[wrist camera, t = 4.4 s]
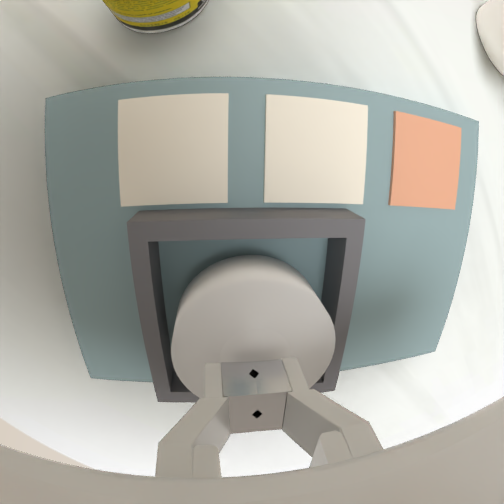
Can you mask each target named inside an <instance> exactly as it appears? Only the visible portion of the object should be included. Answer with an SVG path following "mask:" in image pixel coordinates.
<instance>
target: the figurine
mask: <svg viewBox="0 0 504 504" xmlns="http://www.w3.org/2000/svg"><path fill="white" fill-rule="evenodd" d="M476 24H477V29H478V33H479V37H480V39H481V42H482V45H483V47H484V49H485V51H486V53H487V55H488V57H489V58H490V60H491V62H492V63H493V65H494V66H495V67H496V69H497V70H498V71H499V72H500V73H501V74H502V75H503V76H504V0H489V1H488V2H486V3H485V4H483V5H482V6H481V7H480V8H479V9H478V11H477V15H476Z"/></svg>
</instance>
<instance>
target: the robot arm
mask: <svg viewBox="0 0 504 504" xmlns="http://www.w3.org/2000/svg"><path fill="white" fill-rule="evenodd" d="M204 391H205V398H200V399H199V400H198V401H197V402H196V403H195V404H194V405H193V406H192V407H191V409H190V410H189V411H188V412H187V413H186V414H185V415H184V416H183V417H182V418H181V419H180V421H179V422H178V423H177V424H176V425H175V426H174V427H173V428H172V429H171V430H170V431H169V432H168V433H167V434H166V436H165V437H164V438H163V439H162V440H161V441H160V442H159V443H158V452H157V462H156V474H155V477H153V476H141V475H131V474H122V473H114V472H107V471H101V470H95V469H89V468H84V467H79V466H74V465H69V464H65V463H61V462H56V461H53V460H48V459H45V458H41V457H38V456H34V455H31V454H28V453H24V452H21V451H18V450H15V449H12V448H9V447H7V446H4V445H1V444H0V504H504V397H502V398H500V399H499V400H497V401H495V402H493V403H492V404H490V405H488V406H486V407H484V408H482V409H480V410H479V411H477V412H475V413H473V414H471V415H469V416H467V417H465V418H462V419H460V420H458V421H456V422H454V423H452V424H449V425H447V426H445V427H443V428H440V429H438V430H436V431H433V432H431V433H428V434H426V435H423V436H421V437H418V438H415V439H413V440H410V441H407V442H404V443H402V444H399V445H396V446H393V447H390V448H386V449H383V448H382V446H381V444H380V442H379V440H378V438H377V436H376V434H375V432H374V431H373V429H372V427H371V425H370V423H369V422H368V421H366V420H365V419H363V418H361V417H359V416H358V415H356V414H354V413H353V412H351V411H349V410H348V409H346V408H344V407H342V406H341V405H339V404H338V403H336V402H334V401H333V400H331V399H329V398H328V397H326V396H324V395H323V394H321V393H320V392H318V391H317V390H315V389H309V387H308V384H307V382H306V379H305V377H304V374H303V372H302V369H301V367H300V364H299V362H298V359H297V358H296V357H291V358H283V359H276V360H264V361H249V362H221V364H220V363H205V365H204ZM277 429H282V430H283V431H284V432H285V433H286V434H287V435H288V436H289V437H290V438H291V439H292V440H294V441H295V442H296V443H297V444H298V445H299V446H300V447H301V448H302V449H304V450H305V451H306V452H307V453H308V454H309V455H310V456H311V457H313V458H312V461H311V464H310V467H309V468H305V469H300V470H293V471H287V472H279V473H272V474H263V475H252V476H240V477H222V476H221V468H220V459H219V453H220V451H221V449H222V448H223V446H224V445H225V443H226V441H227V440H228V438H229V436H230V434H231V433H243V432H253V431H265V430H277Z"/></svg>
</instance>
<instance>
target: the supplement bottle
mask: <svg viewBox="0 0 504 504" xmlns="http://www.w3.org/2000/svg"><path fill="white" fill-rule="evenodd" d="M103 2H104V3H105V4H106V5H107V7H108V8H109V9H110V11H111V12H112V13H113V14H114V16H115V17H116V18H117V19H118V20H119V22H120V23H121V24H123V25H124V26H125V27H127V28H129V29H131V30H134V31H137V32H142V33H159V32H164V31H168V30H171V29H174V28H177V27H179V26H182V25H184V24H185V23H187V22H189V21H190V20H192V19H193V18H194V17H196V16H197V15H198V14H199V13H200V12H201V11H202V9H203V8H204V7H205V5H206V4H207V2H208V0H103Z"/></svg>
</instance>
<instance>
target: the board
mask: <svg viewBox="0 0 504 504" xmlns="http://www.w3.org/2000/svg"><path fill="white" fill-rule="evenodd" d="M478 132H479V121H476V120H473V119H471V118H468V117H465V116H462V115H459V114H456V113H453V112H450V111H447V110H444V109H440V108H437V107H434V106H430V105H427V104H423V103H419V102H416V101H412V100H408V99H404V98H400V97H395V96H391V95H387V94H382V93H377V92H372V91H367V90H362V89H356V88H350V87H344V86H338V85H331V84H324V83H316V82H307V81H297V80H286V79H272V78H252V77H193V78H173V79H160V80H148V81H139V82H130V83H123V84H115V85H109V86H102V87H96V88H91V89H85V90H80V91H75V92H70V93H66V94H61V95H57V96H53V97H49V98H46V106H45V156H46V175H47V188H48V198H49V208H50V216H51V223H52V230H53V237H54V243H55V249H56V254H57V260H58V265H59V270H60V275H61V279H62V284H63V288H64V292H65V296H66V300H67V304H68V308H69V312H70V315H71V319H72V323H73V326H74V329H75V333H76V336H77V339H78V342H79V346H80V349H81V352H82V355H83V357H84V360H85V363H86V366H87V369H88V372H89V374H90V377H91V378H95V379H107V380H120V381H138V382H153V384H154V388H155V392H156V396H157V399H158V402H197V401H198V400H199V399H200V398H199V397H197V396H196V395H194V394H193V393H192V392H191V391H190V390H188V389H187V388H186V386H185V385H184V384H183V383H182V382H181V380H180V379H179V377H178V376H177V374H176V371H175V369H174V367H173V363H172V358H171V344H172V337H173V332H174V326H175V321H176V315H177V310H178V306H179V302H180V299H181V297H182V295H183V292H184V291H185V289H186V287H187V286H188V284H189V283H190V282H191V281H192V280H193V279H194V277H196V276H197V275H198V274H199V273H200V272H201V271H203V270H204V269H206V268H207V267H209V266H210V265H212V264H214V263H216V262H218V261H221V260H224V259H227V258H230V257H235V256H240V255H262V256H268V257H272V258H275V259H279V260H281V261H283V262H285V263H287V264H289V265H290V266H292V267H294V268H295V269H296V270H297V271H299V272H300V273H301V274H302V275H303V276H304V277H305V279H306V280H307V281H308V283H309V284H310V286H311V287H312V289H313V290H314V292H315V294H316V295H317V297H318V298H319V300H320V301H321V303H322V304H323V306H324V307H325V309H326V311H327V312H328V314H329V316H330V317H331V320H332V322H333V325H334V330H335V349H334V353H333V357H332V359H331V362H330V364H329V366H328V367H327V369H326V371H325V372H324V374H323V375H322V376H321V378H320V379H319V380H318V381H317V382H316V383H315V384H314V385H313V386H312V387H311V388H309V389H315V390H317V391H318V392H320V393H321V392H328V391H334V390H335V387H336V383H337V379H338V375H339V371H342V370H348V369H354V368H360V367H366V366H371V365H377V364H382V363H387V362H392V361H396V360H401V359H406V358H410V357H414V356H418V355H423V354H427V353H431V352H435V350H436V347H437V345H438V342H439V339H440V336H441V334H442V331H443V328H444V325H445V322H446V319H447V316H448V312H449V309H450V306H451V303H452V299H453V296H454V292H455V288H456V285H457V281H458V277H459V273H460V269H461V265H462V260H463V256H464V251H465V247H466V242H467V236H468V231H469V225H470V219H471V213H472V206H473V199H474V190H475V181H476V170H477V156H478Z"/></svg>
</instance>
